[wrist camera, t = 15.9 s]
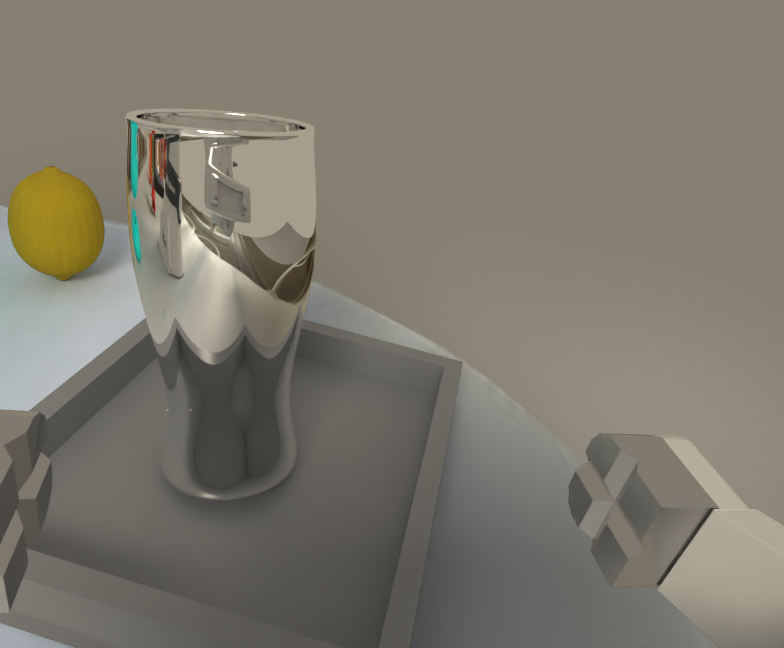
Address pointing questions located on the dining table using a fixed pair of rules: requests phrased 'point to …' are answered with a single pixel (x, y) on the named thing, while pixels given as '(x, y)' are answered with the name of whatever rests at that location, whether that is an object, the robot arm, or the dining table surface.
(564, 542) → the dining table surface
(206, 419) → the beer glass
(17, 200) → the lemon
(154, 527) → the tray
